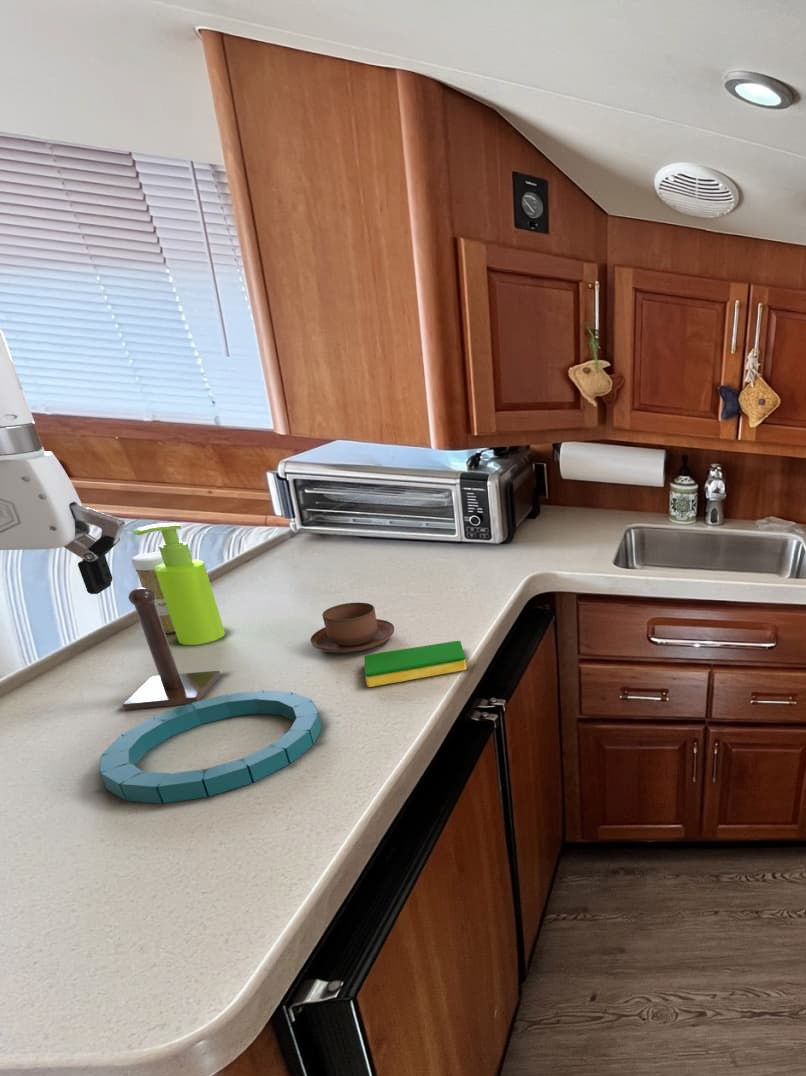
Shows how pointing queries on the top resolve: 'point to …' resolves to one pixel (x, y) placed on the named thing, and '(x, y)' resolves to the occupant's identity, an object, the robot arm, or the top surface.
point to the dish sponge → (414, 663)
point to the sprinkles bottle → (153, 584)
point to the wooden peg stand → (164, 663)
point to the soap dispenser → (185, 589)
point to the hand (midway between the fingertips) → (44, 591)
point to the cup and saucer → (351, 629)
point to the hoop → (214, 780)
